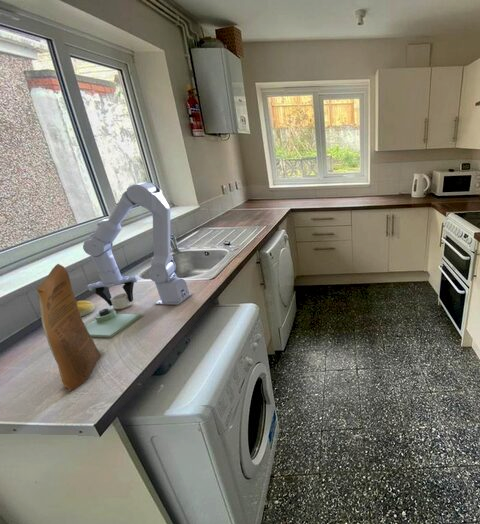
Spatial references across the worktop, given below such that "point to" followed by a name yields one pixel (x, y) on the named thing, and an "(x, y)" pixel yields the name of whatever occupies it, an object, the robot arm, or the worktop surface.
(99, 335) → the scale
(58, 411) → the worktop surface
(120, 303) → the cup
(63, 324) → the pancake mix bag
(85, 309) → the bread roll
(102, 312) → the scale button
